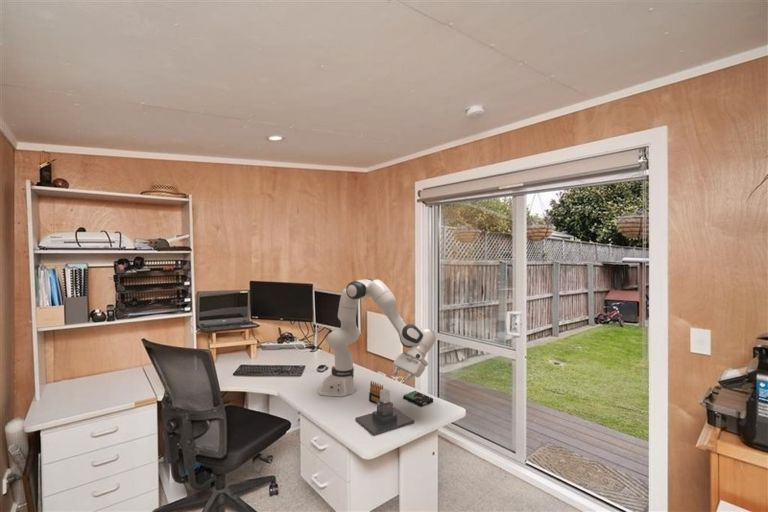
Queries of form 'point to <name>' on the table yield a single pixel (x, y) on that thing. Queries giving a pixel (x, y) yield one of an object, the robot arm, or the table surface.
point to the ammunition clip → (374, 392)
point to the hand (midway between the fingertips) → (399, 377)
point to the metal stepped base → (384, 419)
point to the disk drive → (418, 398)
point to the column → (384, 396)
